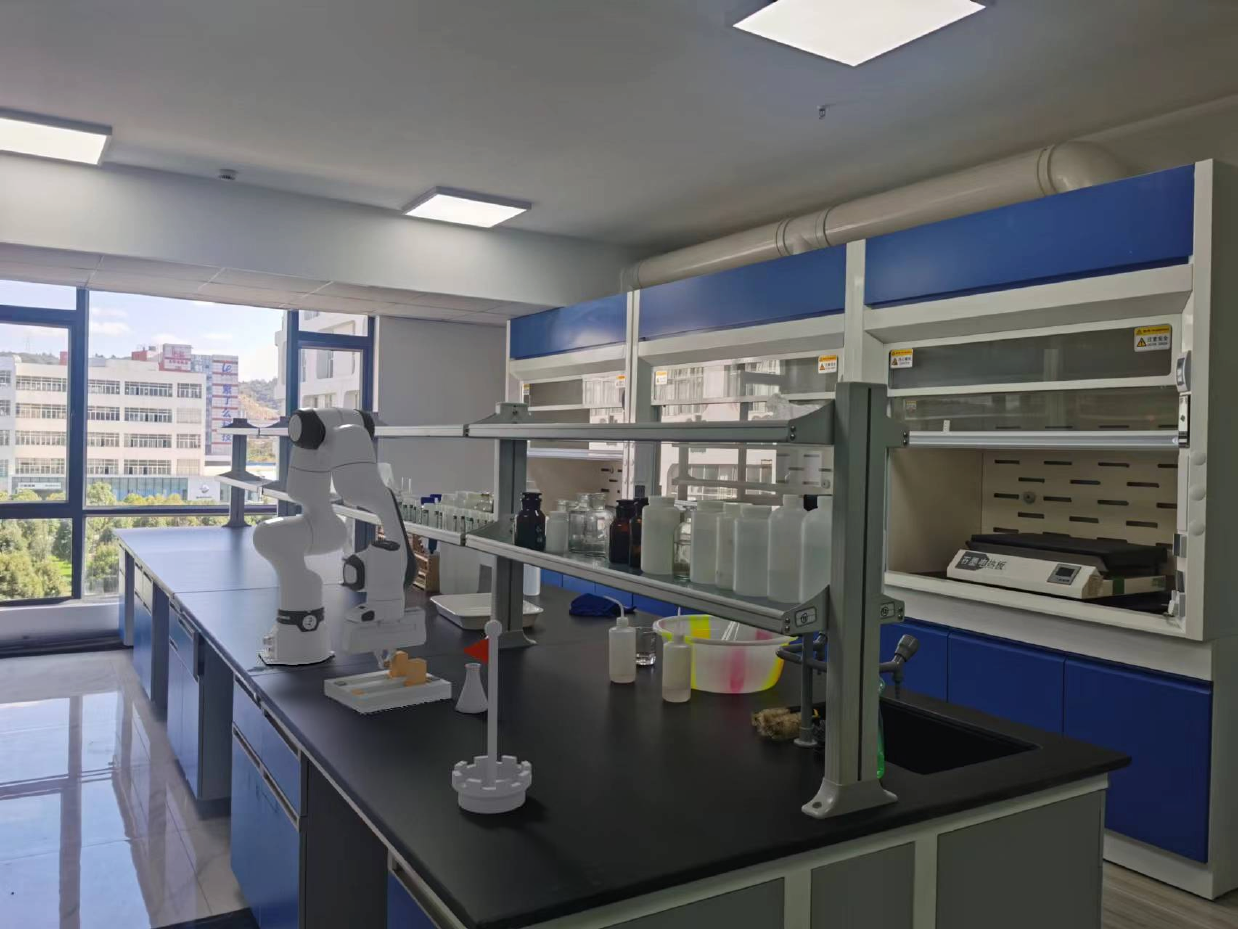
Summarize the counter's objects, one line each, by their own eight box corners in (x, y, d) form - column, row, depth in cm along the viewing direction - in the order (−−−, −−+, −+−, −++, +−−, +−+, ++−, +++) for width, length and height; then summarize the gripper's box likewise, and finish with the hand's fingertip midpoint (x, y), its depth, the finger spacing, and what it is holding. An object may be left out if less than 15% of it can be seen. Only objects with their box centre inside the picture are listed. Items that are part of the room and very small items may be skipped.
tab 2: (404, 688, 215) (404, 659, 215) (420, 685, 217) (420, 657, 217) (412, 692, 212) (412, 663, 212) (428, 689, 214) (428, 660, 214)
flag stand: (533, 785, 160) (535, 613, 159) (528, 816, 147) (530, 628, 146) (457, 785, 160) (459, 612, 159) (446, 816, 147) (447, 627, 146)
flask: (470, 703, 210) (470, 659, 210) (495, 708, 207) (496, 663, 206) (449, 710, 204) (449, 665, 204) (474, 716, 200) (475, 670, 200)
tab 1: (387, 680, 222) (387, 652, 221) (402, 678, 224) (402, 650, 224) (394, 684, 219) (394, 655, 219) (409, 681, 221) (410, 653, 221)
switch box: (324, 695, 215) (324, 678, 215) (410, 680, 229) (410, 665, 229) (361, 714, 200) (361, 697, 200) (451, 697, 214) (451, 681, 214)
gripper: (418, 603, 228) (418, 659, 228) (339, 612, 215) (338, 671, 215) (431, 607, 223) (430, 664, 223) (350, 616, 210) (350, 677, 210)
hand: (384, 667), depth 219 cm, fingers closed
